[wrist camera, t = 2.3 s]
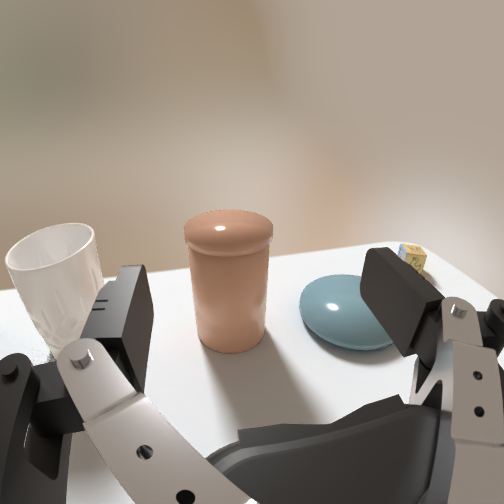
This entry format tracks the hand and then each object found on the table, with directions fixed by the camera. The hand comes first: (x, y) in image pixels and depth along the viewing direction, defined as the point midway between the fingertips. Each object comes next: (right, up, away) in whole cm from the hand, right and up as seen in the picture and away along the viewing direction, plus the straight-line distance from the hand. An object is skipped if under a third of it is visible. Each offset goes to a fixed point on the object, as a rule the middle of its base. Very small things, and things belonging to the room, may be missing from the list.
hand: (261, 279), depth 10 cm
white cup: (-16, -7, +13) cm, 22 cm away
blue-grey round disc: (+10, -5, +18) cm, 21 cm away
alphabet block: (+20, -2, +26) cm, 33 cm away
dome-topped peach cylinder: (-2, -6, +16) cm, 17 cm away
